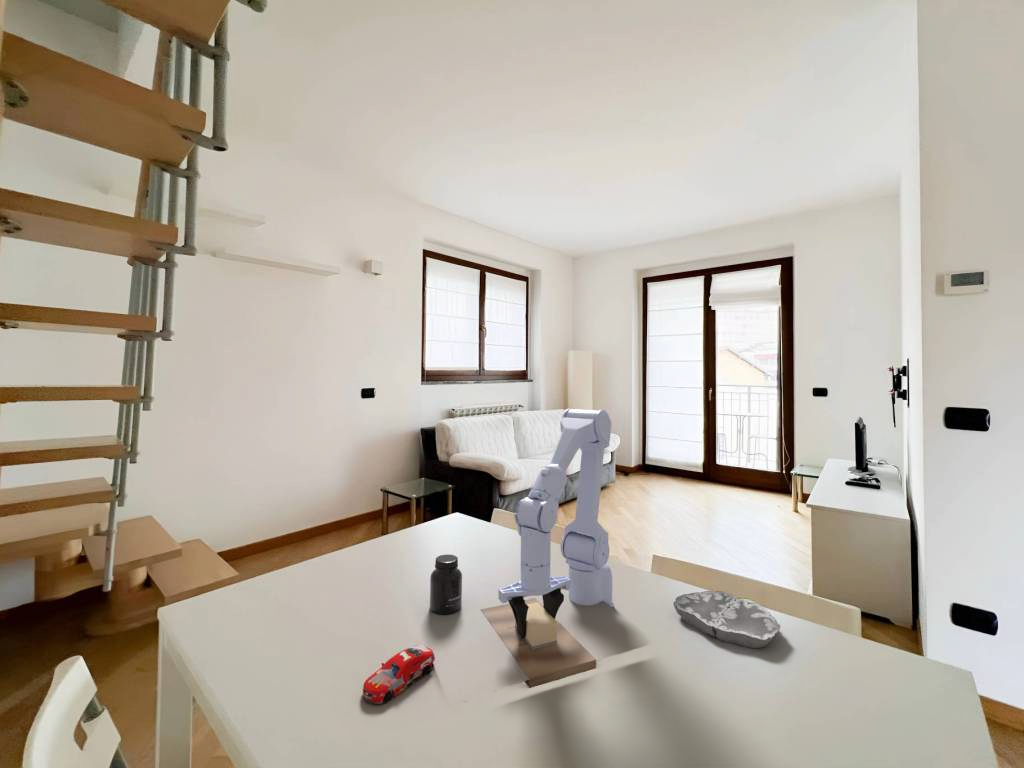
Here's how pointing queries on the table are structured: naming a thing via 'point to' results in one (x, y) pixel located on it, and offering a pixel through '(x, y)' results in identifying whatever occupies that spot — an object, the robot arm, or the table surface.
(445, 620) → the table surface
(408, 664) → the race car
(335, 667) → the table surface
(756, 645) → the brain slice
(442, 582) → the supplement bottle
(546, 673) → the board
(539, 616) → the block
